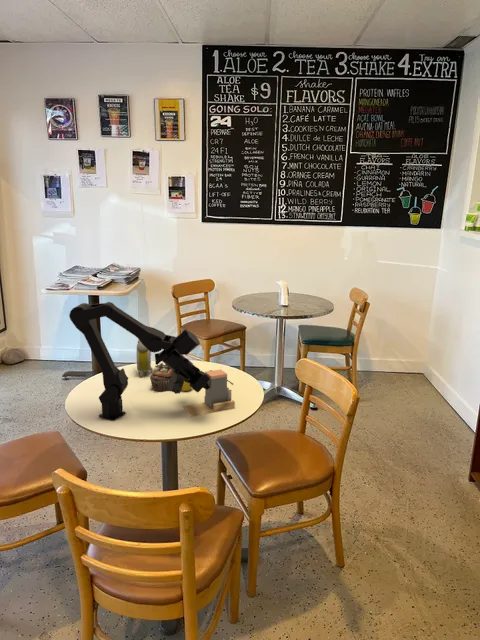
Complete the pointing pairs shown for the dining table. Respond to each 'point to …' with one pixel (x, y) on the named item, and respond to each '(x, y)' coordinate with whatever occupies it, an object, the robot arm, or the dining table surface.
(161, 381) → the cupcake
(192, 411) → the wooden stand
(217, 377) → the plug block
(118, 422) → the dining table surface
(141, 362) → the alarm clock
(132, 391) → the dining table surface
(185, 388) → the lemon
